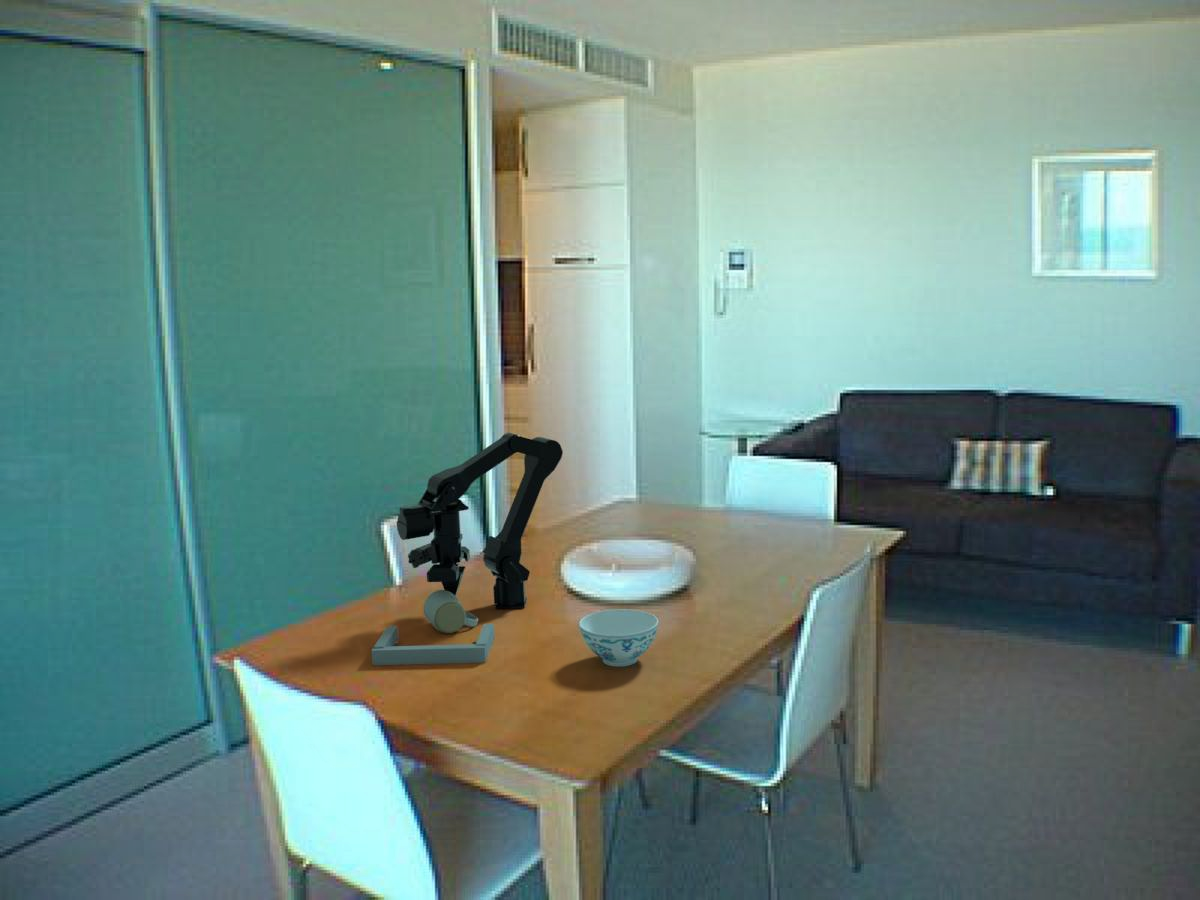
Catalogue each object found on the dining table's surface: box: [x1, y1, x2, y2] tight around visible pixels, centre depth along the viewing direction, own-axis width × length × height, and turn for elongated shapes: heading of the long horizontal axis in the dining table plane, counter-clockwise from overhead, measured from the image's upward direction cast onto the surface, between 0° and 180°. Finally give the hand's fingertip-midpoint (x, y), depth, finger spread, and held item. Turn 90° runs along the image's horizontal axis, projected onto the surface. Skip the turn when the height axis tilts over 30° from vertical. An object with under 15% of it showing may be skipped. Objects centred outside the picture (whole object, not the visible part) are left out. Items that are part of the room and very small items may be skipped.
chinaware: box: [578, 608, 659, 667], centre depth 207 cm, size 15×15×8 cm
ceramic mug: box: [423, 589, 479, 634], centre depth 229 cm, size 11×8×8 cm
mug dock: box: [371, 623, 496, 666], centre depth 216 cm, size 22×14×3 cm, turn 88°
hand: (451, 601), depth 236 cm, fingers closed
